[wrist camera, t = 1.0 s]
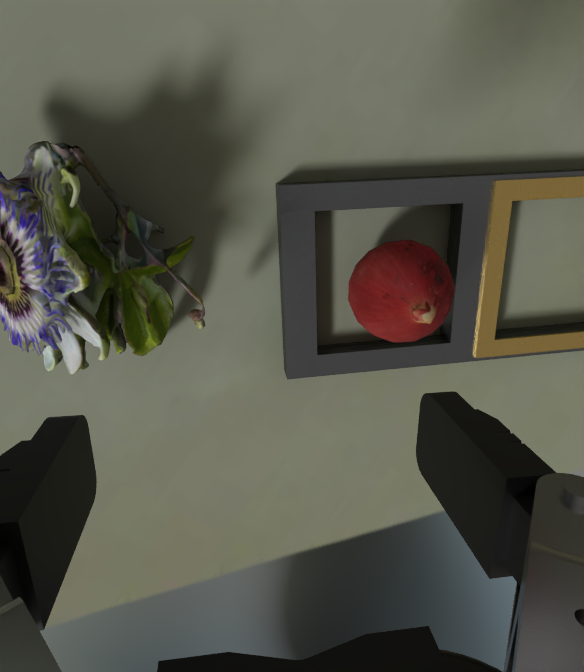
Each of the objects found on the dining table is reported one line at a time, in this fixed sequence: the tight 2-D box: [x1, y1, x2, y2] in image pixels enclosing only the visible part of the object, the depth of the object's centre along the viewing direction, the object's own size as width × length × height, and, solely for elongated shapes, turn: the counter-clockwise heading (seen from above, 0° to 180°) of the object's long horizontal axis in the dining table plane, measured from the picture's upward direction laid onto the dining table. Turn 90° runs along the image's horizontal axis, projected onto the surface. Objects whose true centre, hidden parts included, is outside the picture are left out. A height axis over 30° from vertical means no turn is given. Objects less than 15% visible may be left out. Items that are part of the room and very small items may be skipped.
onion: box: [348, 240, 455, 342], centre depth 27 cm, size 6×6×8 cm
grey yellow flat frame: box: [276, 169, 584, 379], centre depth 31 cm, size 12×25×2 cm, turn 92°
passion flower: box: [0, 141, 205, 375], centre depth 24 cm, size 11×11×12 cm
